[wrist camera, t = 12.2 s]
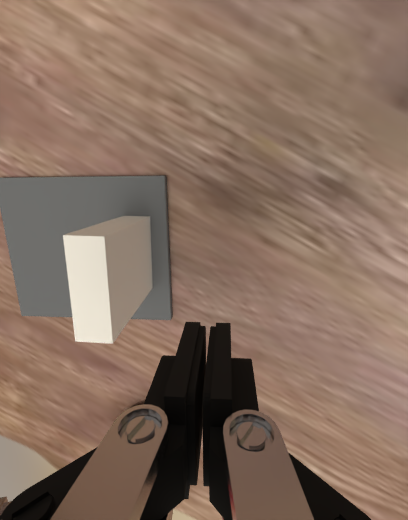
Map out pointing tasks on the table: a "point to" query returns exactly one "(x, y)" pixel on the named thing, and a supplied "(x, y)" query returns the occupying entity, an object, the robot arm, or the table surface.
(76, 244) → the block
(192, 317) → the table surface
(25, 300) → the mat
